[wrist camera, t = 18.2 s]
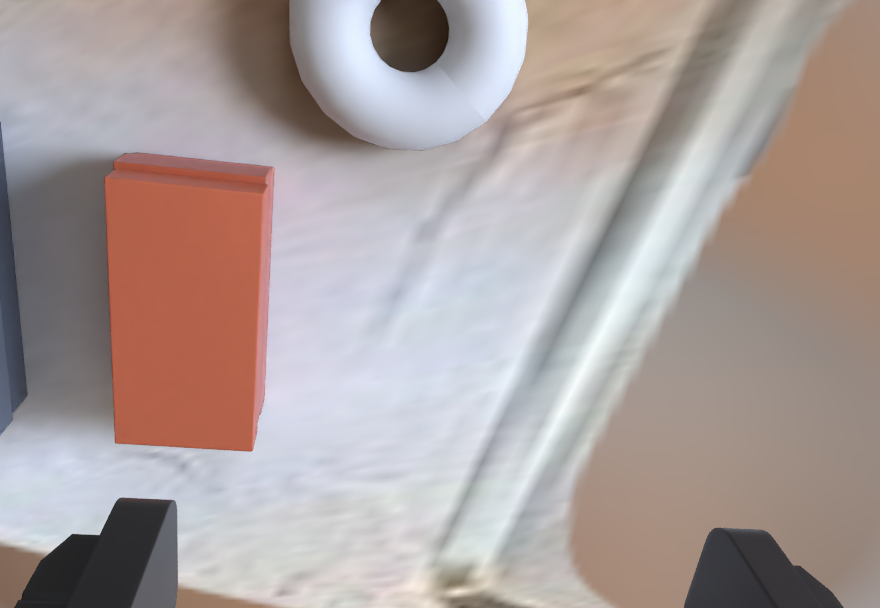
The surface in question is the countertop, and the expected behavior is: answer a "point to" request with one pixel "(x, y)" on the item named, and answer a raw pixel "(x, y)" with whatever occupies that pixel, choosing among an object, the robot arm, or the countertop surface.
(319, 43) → the donut
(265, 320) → the orange-red flat block
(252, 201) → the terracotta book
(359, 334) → the countertop surface
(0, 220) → the grey rectangular block
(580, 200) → the countertop surface
